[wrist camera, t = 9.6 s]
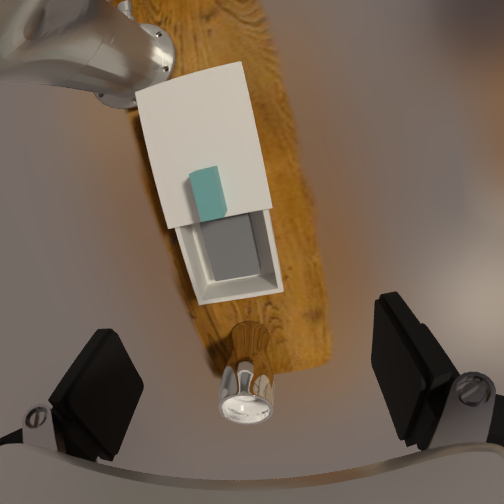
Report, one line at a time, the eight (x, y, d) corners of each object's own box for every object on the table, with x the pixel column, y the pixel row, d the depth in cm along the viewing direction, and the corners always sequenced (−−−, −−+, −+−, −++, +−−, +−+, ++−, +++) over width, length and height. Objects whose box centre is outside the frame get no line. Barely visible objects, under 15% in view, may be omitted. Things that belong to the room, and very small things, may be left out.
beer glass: (235, 355, 46) (227, 428, 33) (222, 323, 44) (208, 397, 30) (276, 347, 46) (280, 421, 32) (266, 314, 43) (267, 389, 29)
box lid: (136, 92, 27) (123, 88, 24) (241, 62, 26) (239, 53, 22) (169, 227, 33) (160, 237, 30) (272, 206, 32) (273, 215, 28)
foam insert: (203, 218, 37) (199, 223, 35) (248, 208, 37) (247, 213, 34) (218, 272, 40) (215, 281, 38) (260, 265, 40) (260, 273, 37)
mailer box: (174, 177, 36) (162, 183, 31) (258, 158, 35) (258, 161, 30) (205, 286, 42) (198, 304, 37) (281, 273, 40) (283, 291, 36)
